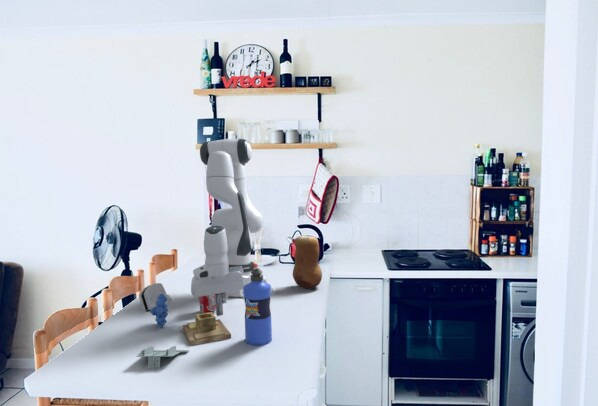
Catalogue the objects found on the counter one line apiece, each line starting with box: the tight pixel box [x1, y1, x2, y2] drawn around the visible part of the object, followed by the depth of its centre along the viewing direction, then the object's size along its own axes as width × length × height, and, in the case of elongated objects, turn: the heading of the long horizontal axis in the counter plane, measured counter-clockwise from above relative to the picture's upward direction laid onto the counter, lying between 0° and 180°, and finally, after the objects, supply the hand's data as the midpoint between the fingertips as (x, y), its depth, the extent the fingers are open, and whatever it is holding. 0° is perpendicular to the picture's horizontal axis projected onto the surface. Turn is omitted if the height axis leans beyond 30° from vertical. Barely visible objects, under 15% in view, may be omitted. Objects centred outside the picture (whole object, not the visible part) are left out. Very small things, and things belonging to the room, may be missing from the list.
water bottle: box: [243, 267, 273, 347], centre depth 157 cm, size 9×9×25 cm
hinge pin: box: [215, 293, 224, 317], centre depth 178 cm, size 3×3×9 cm
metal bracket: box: [136, 345, 190, 369], centre depth 145 cm, size 14×6×15 cm
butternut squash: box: [292, 234, 323, 290], centre depth 218 cm, size 14×13×25 cm
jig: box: [181, 312, 232, 346], centre depth 165 cm, size 14×16×6 cm
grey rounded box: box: [138, 282, 172, 312], centre depth 197 cm, size 17×5×10 cm, turn 172°
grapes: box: [149, 294, 169, 329], centre depth 172 cm, size 12×7×12 cm, turn 7°
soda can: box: [198, 294, 216, 314], centre depth 187 cm, size 7×7×12 cm
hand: (219, 303), depth 178 cm, fingers closed on hinge pin, 3 cm apart
